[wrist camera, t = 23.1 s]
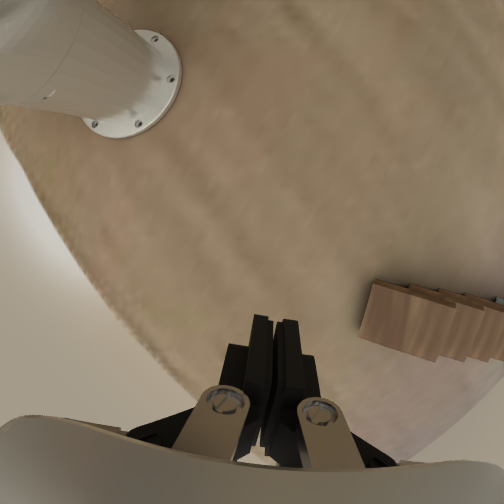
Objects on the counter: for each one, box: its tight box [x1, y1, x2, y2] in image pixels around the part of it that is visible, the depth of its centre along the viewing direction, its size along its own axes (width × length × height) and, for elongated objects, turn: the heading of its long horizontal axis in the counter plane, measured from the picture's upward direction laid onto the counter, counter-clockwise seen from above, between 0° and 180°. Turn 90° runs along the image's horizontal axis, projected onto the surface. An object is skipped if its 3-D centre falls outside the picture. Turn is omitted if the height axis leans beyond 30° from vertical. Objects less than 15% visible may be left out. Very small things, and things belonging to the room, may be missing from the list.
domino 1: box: [358, 279, 456, 362], centre depth 28 cm, size 2×6×9 cm
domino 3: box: [438, 288, 504, 362], centre depth 28 cm, size 2×6×9 cm
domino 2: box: [408, 284, 485, 362], centre depth 28 cm, size 2×6×9 cm
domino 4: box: [463, 293, 504, 361], centre depth 27 cm, size 2×6×9 cm
